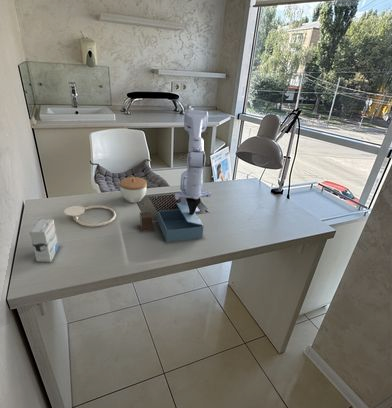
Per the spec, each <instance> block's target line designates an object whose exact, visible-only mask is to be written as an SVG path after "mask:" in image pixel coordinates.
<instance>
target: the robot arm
mask: <svg viewBox="0 0 392 408" xmlns="http://www.w3.org/2000/svg"><path fill="white" fill-rule="evenodd" d="M183 116H184V117H183V128H184V131H187V133H188V137H189V139H188V153H187V156H186V167H187V169H186V170H185V171H183V172H182V173H181V177H180V188H179V189H180V192H175V193H174V199H175V200H176V201H179V200H180V202H178V203H179V204H183V205H187V206H188V207H189V213H190V215H194V212H195V213H197V212H201V209H200V208H199V207H198V206H199V205H200V203H201V202H202V200H201V198H211V197H212V192H211V190H203V183H204V181H203V179H204V178H203V177H204V176H203V171H204V168H205V165H206V152H205V148H204V144H205V143H204V141H205V140H204V138H203V137H202V133H204V132H206V129H207V126H208V122H209V112H208V110H200V109H188V108H185V109H184V114H183Z"/></svg>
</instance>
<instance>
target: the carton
mask: <svg viewBox="0 0 392 408" xmlns="http://www.w3.org/2000/svg"><path fill="white" fill-rule="evenodd" d="M157 224H158V227H159V229H160V230H161V234H162V235H163V237H164V240H165V242H166V243H168V242H177V241H186V240H194V239H201V238H203V234H204V225H203V226H202V225H198V224H193V223H189V222H187V221H186V219H185V218H184V216H183V214H182V213H181V211H180V209H179V208H175V209H166V210H157Z"/></svg>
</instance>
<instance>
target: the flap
mask: <svg viewBox="0 0 392 408" xmlns="http://www.w3.org/2000/svg"><path fill="white" fill-rule="evenodd" d="M179 203H180V202H175V204H176V207H177V209H180V211H181V213H182V214H183V216H184V218H185V219H186V221H187V222H189V223H193V224H198V225H202V226H203V227H204V223H203V222H202V220H201V219H200V217H199V216H198V214H197V212H194V215H190V213H189V207H188V206H187V205H183V204H179Z"/></svg>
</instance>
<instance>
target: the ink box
mask: <svg viewBox="0 0 392 408" xmlns="http://www.w3.org/2000/svg"><path fill="white" fill-rule="evenodd" d="M54 221H55V220H54V219H41V218H40V219H38V220H37V221H36V223H35V224H34V226H33V227H32V228H31V230H29V236H30V240H31V244H32V248H33V252H34V256H35V260H36V262H44V263H45V262H46V263H47V262H48V263H49V262H50V263H51V262H52V261H53V259H54V257H55V255H56V253H57V251H58V249H59V242H58V237H57V231H56V226H55V222H54Z"/></svg>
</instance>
